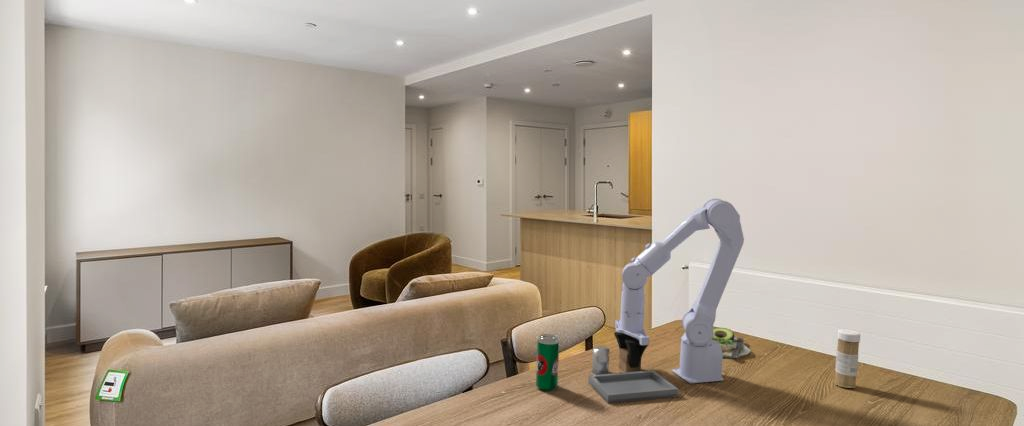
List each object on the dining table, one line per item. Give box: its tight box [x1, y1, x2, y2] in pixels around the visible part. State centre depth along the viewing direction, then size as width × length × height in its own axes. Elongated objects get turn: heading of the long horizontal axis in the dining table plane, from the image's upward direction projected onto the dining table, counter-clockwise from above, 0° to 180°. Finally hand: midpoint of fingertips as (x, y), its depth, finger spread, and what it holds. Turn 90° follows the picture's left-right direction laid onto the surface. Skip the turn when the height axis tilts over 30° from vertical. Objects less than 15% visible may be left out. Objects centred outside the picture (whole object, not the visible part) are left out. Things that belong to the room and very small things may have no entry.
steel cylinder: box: [591, 345, 610, 375], centre depth 131 cm, size 4×4×6 cm
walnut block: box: [618, 348, 642, 373], centre depth 133 cm, size 4×4×5 cm
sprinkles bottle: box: [833, 328, 861, 389], centre depth 125 cm, size 5×5×14 cm
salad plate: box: [712, 327, 751, 359], centre depth 149 cm, size 19×18×5 cm
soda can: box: [535, 333, 560, 392], centre depth 121 cm, size 5×5×12 cm
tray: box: [587, 369, 679, 404], centre depth 121 cm, size 17×11×2 cm, turn 104°
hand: (629, 363), depth 133 cm, fingers closed on walnut block, 4 cm apart
